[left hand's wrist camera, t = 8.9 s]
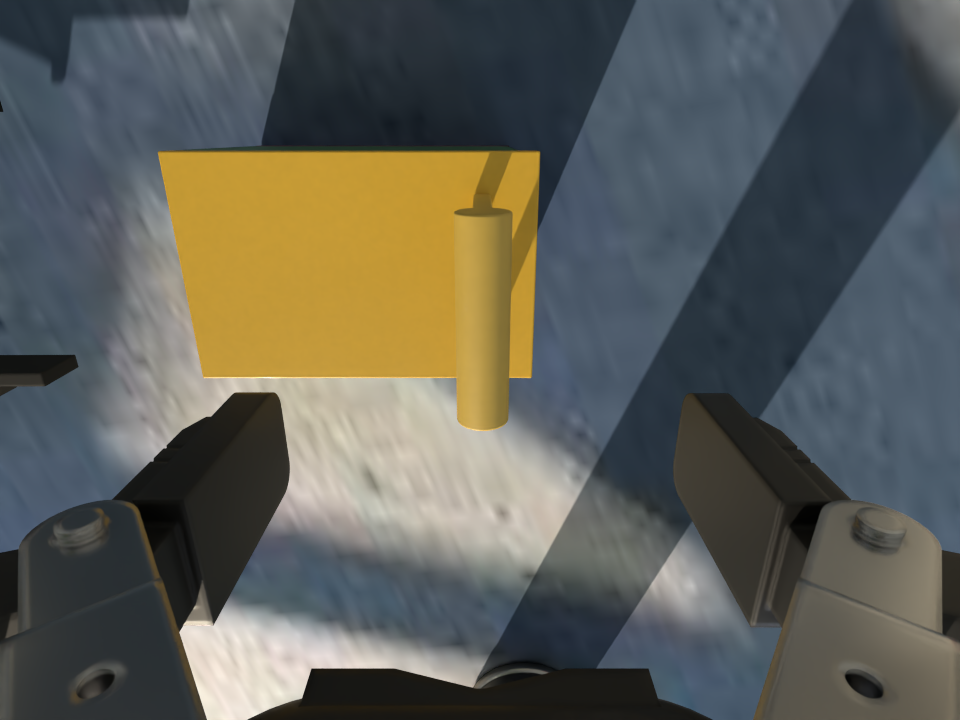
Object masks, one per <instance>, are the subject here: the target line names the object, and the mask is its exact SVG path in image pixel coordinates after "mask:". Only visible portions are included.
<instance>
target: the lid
mask: <svg viewBox="0 0 960 720" xmlns="http://www.w3.org/2000/svg"><path fill="white" fill-rule="evenodd" d="M158 155H159V160H160V165H161V170H162V175H163V180H164V185H165V189H166V194H167V199H168V204H169V209H170V214H171V219H172V224H173V229H174V234H175V239H176V244H177V249H178V254H179V259H180V264H181V269H182V274H183V279H184V284H185V289H186V294H187V299H188V304H189V309H190V314H191V319H192V324H193V328H194V333H195V338H196V343H197V348H198V353H199V358H200V363H201V368H202V373H203V377H204V378H457V419H458V422H459V423H460V424H461V425H462V426H464V427H466V428H468V429H472V430H478V431H488V430H494V429H498V428H500V427H502V426H504V425H505V424H506V422H507V421H508V407H509V378H531V377H532V357H533V331H534V304H535V278H536V251H537V225H538V198H539V172H540V151H159V152H158Z"/></svg>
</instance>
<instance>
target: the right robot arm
mask: <svg viewBox="0 0 960 720" xmlns="http://www.w3.org/2000/svg"><path fill="white" fill-rule="evenodd" d="M0 112H3V109H2V105H1V102H0ZM76 368H78V364H77V360H76V357H75V355H0V396H1V395H3V394H5V393H7V392H9V391H10V390H12V389H14V388H16V387H17V386H46V385H48V384H50V383H52V382H53V381H55V380H57V379H59V378H60V377H62V376H64V375H65V374H67V373H69V372H71V371H72V370H74V369H76Z"/></svg>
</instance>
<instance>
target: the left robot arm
mask: <svg viewBox="0 0 960 720" xmlns="http://www.w3.org/2000/svg"><path fill="white" fill-rule="evenodd" d="M289 473H290V464H289V456H288V449H287V442H286V436H285V429H284V422H283V415H282V409H281V403H280V400H279V397H278V396H277V394H276V393H234V394H233V395H231V397H230V398H229V399H228V400H227V401H226V402H225V403H224V404H223V405H222V406H221V407H220V408H219V409H218V410H217V411H216V412H215V413H214V414H213V415H212V416H211V417H205V418H203V419H201V420H200V421H198V422H196V423H194V424H192V425H191V426H189V427H187V428H185V429H183V430H182V431H181V432H180V433H179V434H178V435H177V436H176V437H175V438H174V439H173V440H172V441H171V442H170V443H169V444H168V445H167V448H166V449H163V450H162V451H161V452H160V453H159V454H158V455H157V456H156V457H155V458H154V461H153V462H150V463H149V464H148V465H147V466H146V467H145V468H144V469H143V470H141V471H140V472H139V473H138V474H137V475H136V476H135V477H134V478H133V479H132V480H131V481H130V482H129V483H128V484H127V485H126V486H125V487H124V488H123V489H122V490H121V491H120V492H119V493H118V494H117V495H116V496H115V497H114V498H113V499H112V500H103V501H95V502H90V503H86V504H82V505H79V506H76V507H73V508H70V509H67V510H65V511H63V512H60V513H58V514H56V515H54V516H52V517H50V518H48V519H47V520H45V521H44V522H42V523H40V524H39V525H38V526H36V527H35V528H34V529H32V530H31V531H30V532H29V533H28V534H27V535H26V536H25V538H24V539H23V540H22V542H21V544H20V546H19V549H18V550H13V551H7V552H2V553H0V720H207V719H206V716H205V712H204V709H203V706H202V703H201V700H200V697H199V693H198V690H197V687H196V684H195V681H194V678H193V675H192V671H191V668H190V665H189V662H188V659H187V656H186V652H185V649H184V646H183V643H182V640H181V637H180V634H179V632H180V630H181V628H182V627H183V625H214V623H215V621H216V620H217V618H218V616H219V614H220V612H221V610H222V609H223V607H224V605H225V603H226V601H227V599H228V598H229V596H230V594H231V592H232V590H233V588H234V587H235V585H236V583H237V581H238V579H239V577H240V575H241V574H242V572H243V570H244V568H245V566H246V564H247V563H248V561H249V559H250V557H251V555H252V553H253V552H254V550H255V548H256V546H257V544H258V542H259V541H260V539H261V537H262V535H263V533H264V531H265V529H266V528H267V526H268V524H269V522H270V520H271V518H272V517H273V515H274V513H275V511H276V509H277V507H278V506H279V504H280V502H281V500H282V498H283V496H284V494H285V492H286V490H287V486H288V482H289ZM673 475H674V483H675V487H676V491H677V493H678V496H679V497H680V499H681V501H682V503H683V505H684V507H685V508H686V510H687V512H688V514H689V516H690V517H691V519H692V521H693V523H694V525H695V527H696V528H697V530H698V532H699V534H700V536H701V537H702V539H703V541H704V543H705V545H706V547H707V548H708V550H709V552H710V554H711V556H712V557H713V559H714V561H715V563H716V565H717V566H718V568H719V570H720V572H721V574H722V576H723V577H724V579H725V581H726V583H727V585H728V586H729V588H730V590H731V592H732V594H733V596H734V597H735V599H736V601H737V603H738V605H739V606H740V608H741V610H742V612H743V614H744V616H745V617H746V619H747V621H748V623H749V625H750V626H751V627H782V630H781V634H780V637H779V640H778V643H777V646H776V649H775V652H774V656H773V659H772V662H771V665H770V668H769V671H768V675H767V678H766V681H765V684H764V687H763V690H762V693H761V697H760V700H759V703H758V706H757V709H756V712H755V716H754V719H753V720H960V554H959V553H954V552H948V551H944V550H941V546H940V544H939V542H938V540H937V539H936V538H935V536H934V535H933V534H932V533H931V532H930V531H929V530H928V529H926V528H925V527H924V526H922V525H921V524H920V523H918V522H916V521H915V520H913V519H912V518H910V517H908V516H906V515H904V514H902V513H900V512H897V511H895V510H893V509H890V508H887V507H884V506H881V505H878V504H874V503H870V502H865V501H857V500H851V499H850V498H849V497H848V496H847V495H846V494H845V493H844V492H843V491H842V490H841V489H840V488H839V487H838V486H837V485H836V484H835V483H834V482H833V481H832V480H831V479H830V478H829V477H828V476H827V475H826V474H825V473H824V472H823V471H822V470H821V469H820V468H819V467H818V466H816V465H815V464H814V463H811V462H810V459H809V458H808V457H807V456H806V455H805V454H804V453H803V452H802V451H801V450H797V446H796V445H795V444H794V443H793V442H792V441H791V440H790V439H789V438H788V437H787V436H786V435H785V434H784V433H783V432H782V431H780V430H779V429H777V428H775V427H773V426H771V425H769V424H768V423H766V422H764V421H762V420H760V419H759V418H752V417H751V416H750V415H749V414H748V413H747V411H746V410H745V409H744V408H743V407H742V406H741V405H740V404H739V403H738V402H737V401H736V400H735V399H734V398H733V397H732V396H731V395H730V394H728V393H689V394H687V395H686V397H685V398H684V401H683V404H682V410H681V416H680V423H679V430H678V436H677V443H676V450H675V456H674V464H673ZM248 720H712V719H710V718H708V717H706V716H704V715H702V714H699V713H697V712H695V711H693V710H691V709H688V708H686V707H683V706H680V705H677V704H674V703H672V702H669V701H665V700H661V699H658V698H657V694H656V691H655V688H654V685H653V682H652V679H651V675H650V672H649V669H562V670H558V671H556V670H554V669H552V668H549V667H547V666H544V665H540V664H534V663H514V664H508V665H504V666H501V667H498V668H496V669H494V670H492V671H490V672H488V673H487V674H485V675H484V676H483V677H482V678H481V679H480V680H479V681H478V682H477V683H476V684H475V686H474V688H471V687H467V686H463V685H459V684H455V683H451V682H447V681H442V680H438V679H434V678H430V677H426V676H422V675H418V674H414V673H410V672H406V671H402V670H398V669H311V672H310V675H309V679H308V682H307V685H306V688H305V691H304V694H303V698H302V699H299V700H295V701H291V702H288V703H286V704H283V705H280V706H277V707H274V708H272V709H269V710H267V711H265V712H263V713H261V714H258V715H256V716H254V717H252V718H250V719H248Z"/></svg>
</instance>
